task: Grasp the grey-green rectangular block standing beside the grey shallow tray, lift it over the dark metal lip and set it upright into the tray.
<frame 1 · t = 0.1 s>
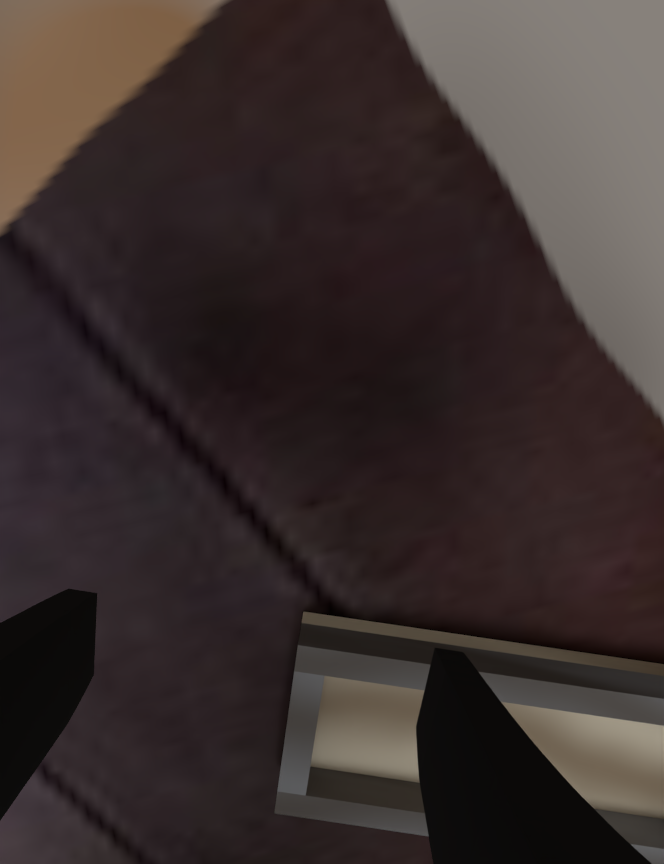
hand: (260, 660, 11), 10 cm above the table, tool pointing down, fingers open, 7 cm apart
grey shallow tray: (496, 723, 23), on the table
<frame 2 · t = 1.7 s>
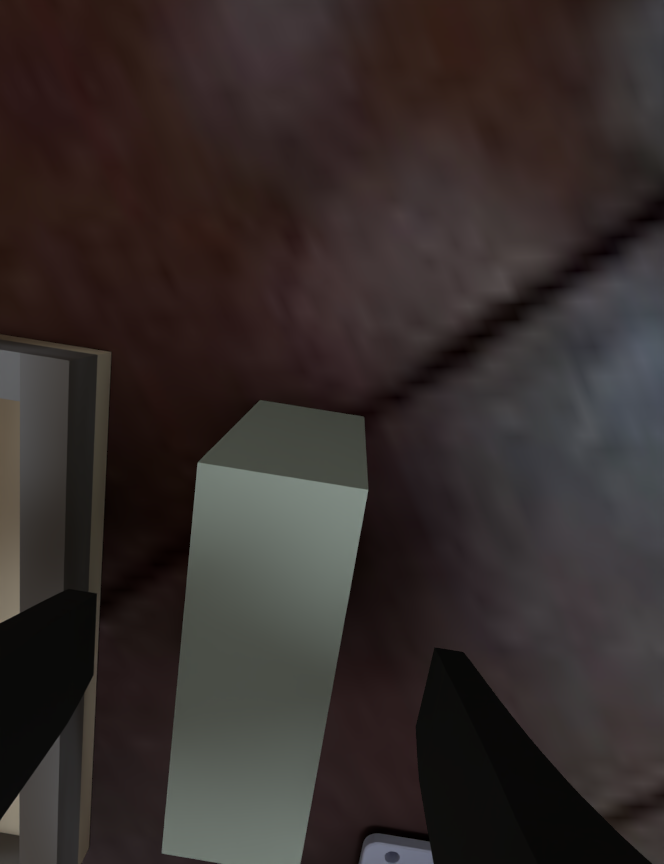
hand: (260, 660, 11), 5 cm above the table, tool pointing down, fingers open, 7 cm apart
grey-green rectangular block: (291, 549, 16), on the table
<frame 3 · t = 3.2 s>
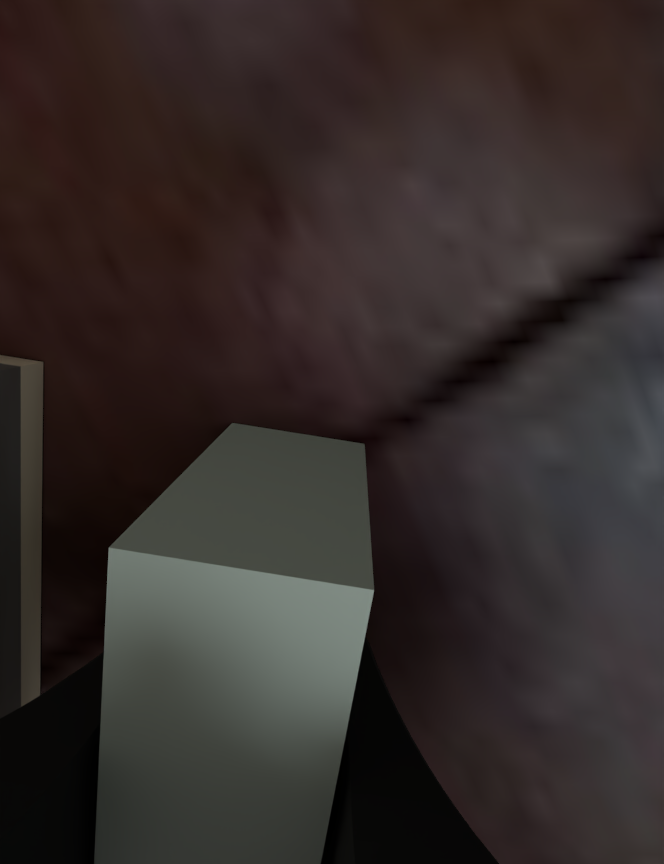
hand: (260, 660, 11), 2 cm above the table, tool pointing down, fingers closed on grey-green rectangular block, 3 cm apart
grey-green rectangular block: (273, 607, 13), on the table, touching gripper
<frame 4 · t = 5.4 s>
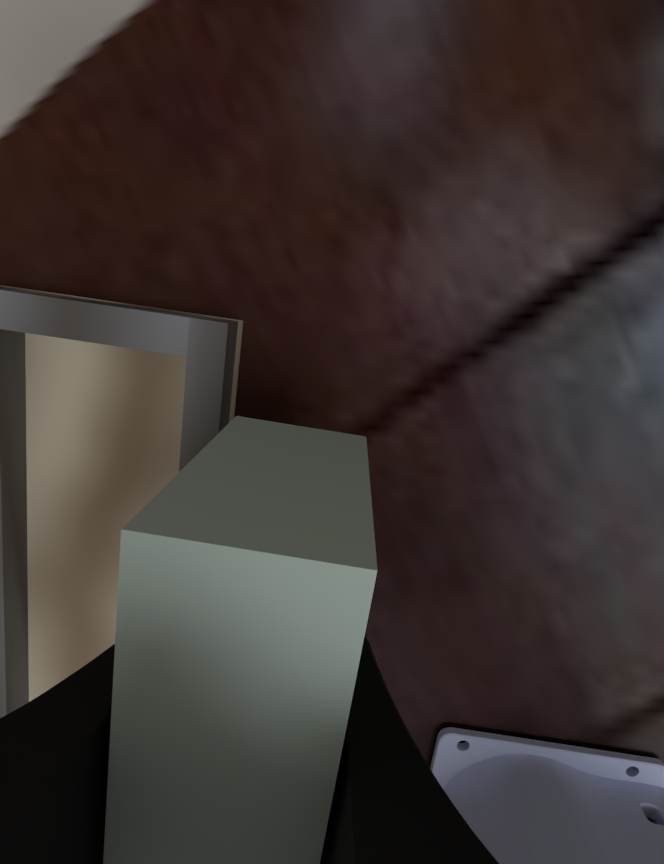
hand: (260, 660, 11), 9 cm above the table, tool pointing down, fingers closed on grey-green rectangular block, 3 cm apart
grey-green rectangular block: (276, 598, 13), point 7 cm above the table, touching gripper
grey shallow tray: (115, 542, 20), on the table
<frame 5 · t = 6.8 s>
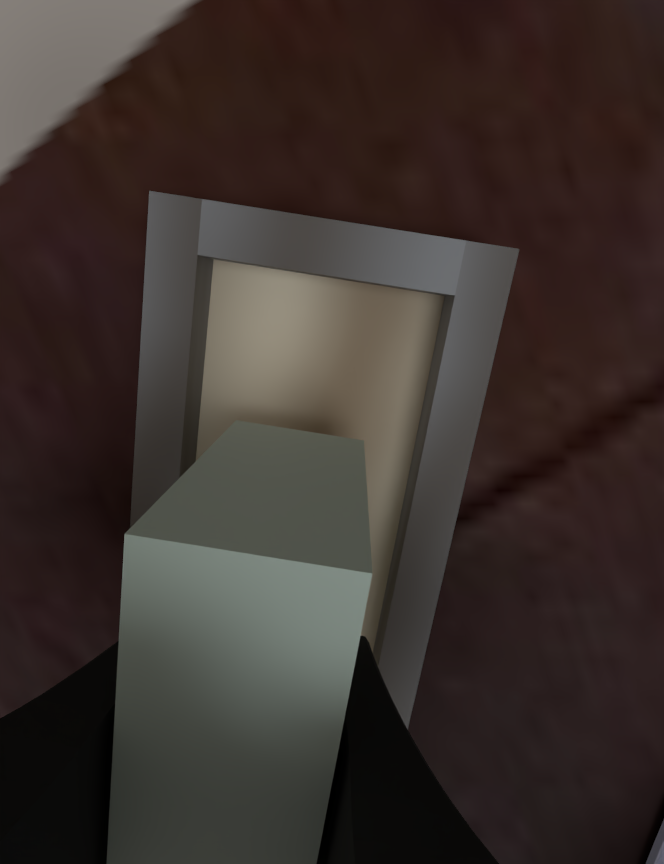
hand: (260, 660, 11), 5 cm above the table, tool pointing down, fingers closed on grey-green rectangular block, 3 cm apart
grey-green rectangular block: (276, 599, 13), point 3 cm above the table, touching gripper
grey shallow tray: (291, 544, 16), on the table
when the fingers open (4 cm above the table, at t = 8.0 s): grey-green rectangular block stays where it is, resting on grey shallow tray.
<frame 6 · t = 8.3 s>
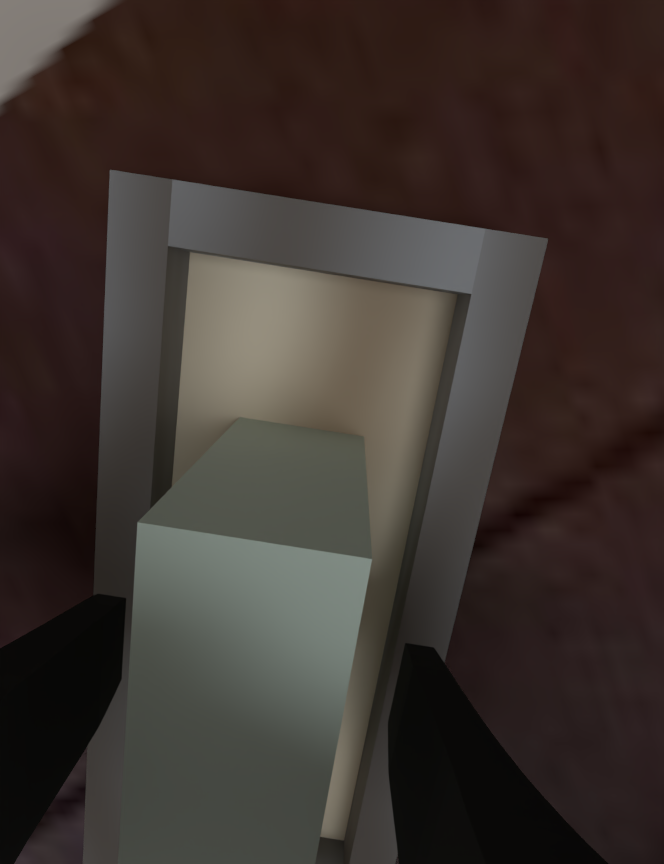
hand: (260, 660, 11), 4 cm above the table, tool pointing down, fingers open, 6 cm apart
grey-green rectangular block: (278, 592, 13), point 1 cm above the table, touching grey shallow tray
grey shallow tray: (282, 574, 14), on the table
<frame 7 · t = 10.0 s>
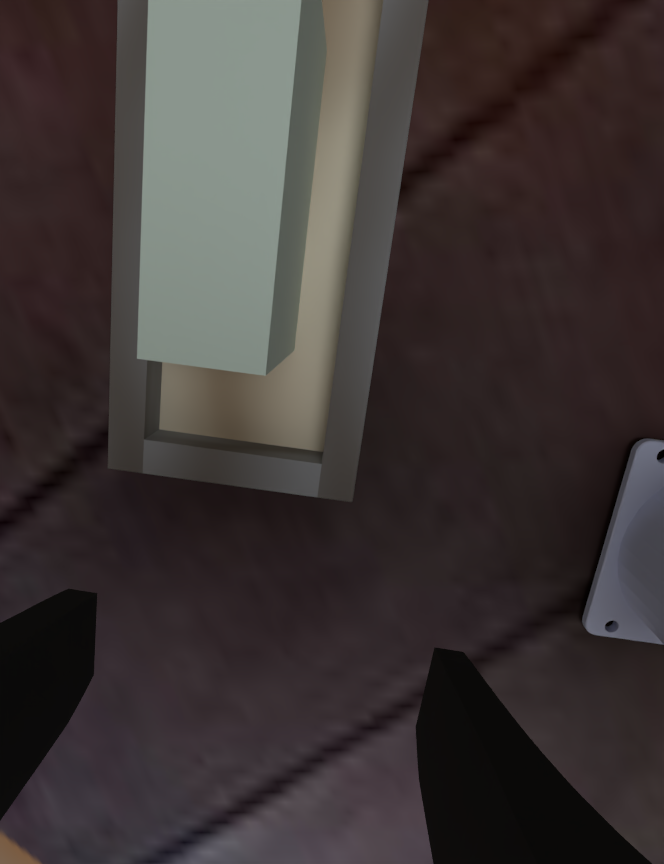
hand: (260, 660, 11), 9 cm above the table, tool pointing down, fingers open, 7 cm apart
grey-green rectangular block: (263, 204, 17), point 1 cm above the table, touching grey shallow tray
grey shallow tray: (266, 207, 17), on the table
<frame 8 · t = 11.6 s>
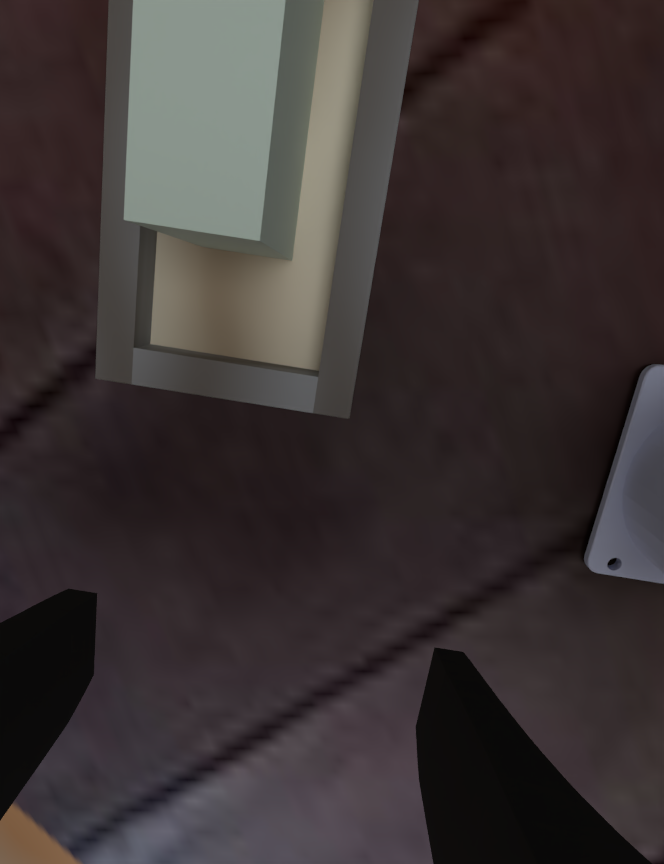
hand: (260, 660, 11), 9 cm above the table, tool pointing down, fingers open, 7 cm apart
grey-green rectangular block: (262, 101, 16), point 1 cm above the table, touching grey shallow tray
grey shallow tray: (266, 108, 17), on the table
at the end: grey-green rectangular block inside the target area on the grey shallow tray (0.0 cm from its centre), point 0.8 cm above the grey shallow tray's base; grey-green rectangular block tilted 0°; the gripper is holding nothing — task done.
